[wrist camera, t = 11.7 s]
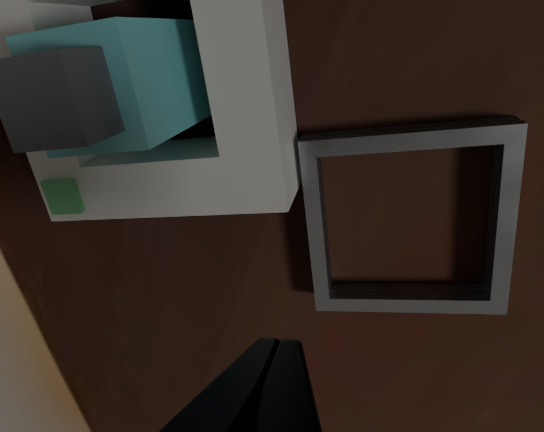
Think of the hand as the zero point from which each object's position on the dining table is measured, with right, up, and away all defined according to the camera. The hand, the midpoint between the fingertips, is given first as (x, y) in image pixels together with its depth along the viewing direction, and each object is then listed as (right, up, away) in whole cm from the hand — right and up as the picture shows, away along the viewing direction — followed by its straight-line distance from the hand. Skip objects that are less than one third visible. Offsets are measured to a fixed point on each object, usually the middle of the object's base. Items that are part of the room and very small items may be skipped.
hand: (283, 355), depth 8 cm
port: (-5, +10, +11) cm, 16 cm away
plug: (-5, +10, +11) cm, 16 cm away
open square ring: (+6, +3, +12) cm, 14 cm away
